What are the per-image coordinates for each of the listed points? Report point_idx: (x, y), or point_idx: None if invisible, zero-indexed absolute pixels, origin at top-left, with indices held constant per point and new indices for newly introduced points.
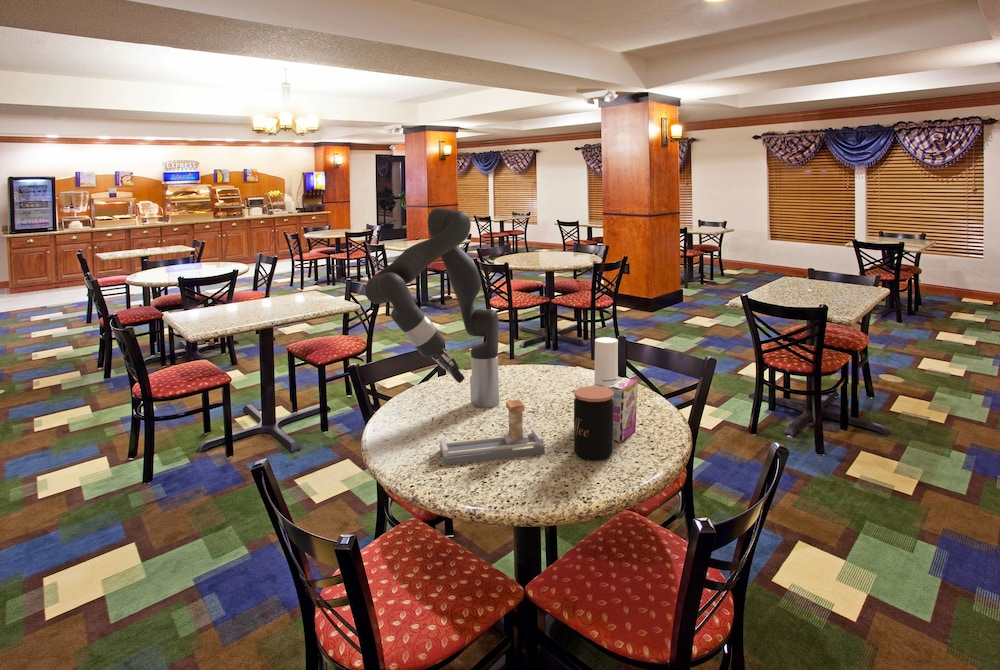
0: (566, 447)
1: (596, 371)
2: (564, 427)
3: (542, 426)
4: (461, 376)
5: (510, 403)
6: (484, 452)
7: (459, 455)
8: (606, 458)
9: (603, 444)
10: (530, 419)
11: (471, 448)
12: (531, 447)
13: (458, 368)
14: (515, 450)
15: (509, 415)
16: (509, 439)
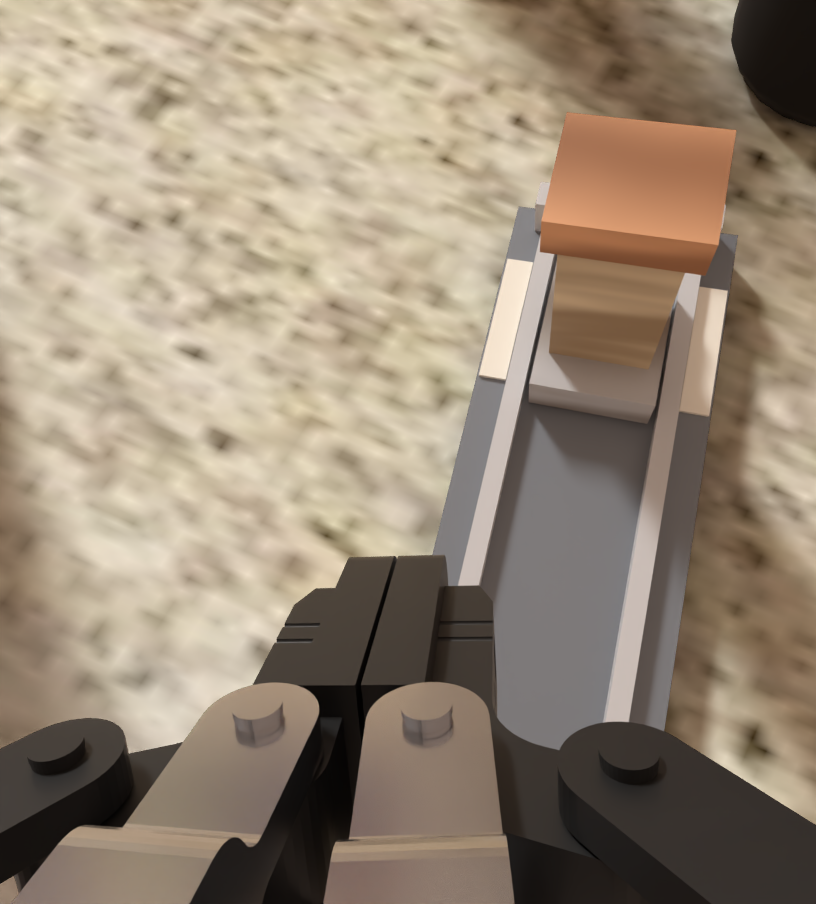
0: None
1: None
2: (445, 45)
3: (371, 130)
4: (493, 631)
5: (624, 211)
6: (659, 597)
7: None
8: None
9: None
10: (246, 146)
11: (552, 650)
12: (723, 304)
13: (694, 770)
14: (712, 403)
15: (585, 283)
16: (657, 393)
